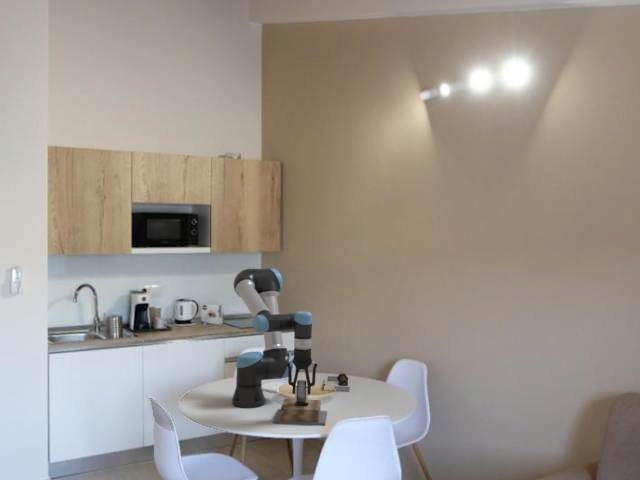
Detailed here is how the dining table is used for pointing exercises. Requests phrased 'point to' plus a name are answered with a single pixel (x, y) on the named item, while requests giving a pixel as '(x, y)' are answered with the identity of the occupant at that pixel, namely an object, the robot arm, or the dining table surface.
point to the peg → (301, 393)
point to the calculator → (273, 386)
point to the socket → (300, 413)
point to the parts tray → (338, 388)
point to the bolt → (342, 380)
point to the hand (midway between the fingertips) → (301, 401)
